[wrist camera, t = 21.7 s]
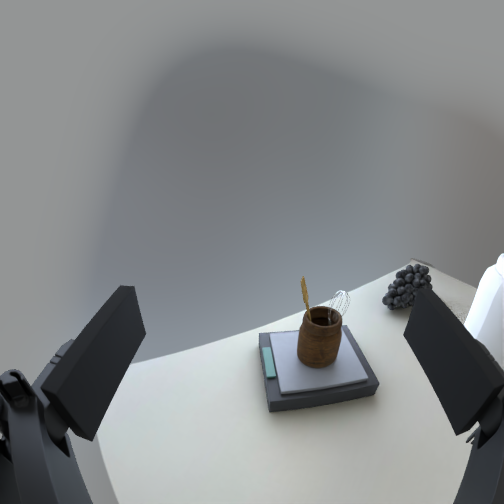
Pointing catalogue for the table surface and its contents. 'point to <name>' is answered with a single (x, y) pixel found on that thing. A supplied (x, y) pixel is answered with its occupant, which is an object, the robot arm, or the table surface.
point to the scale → (312, 373)
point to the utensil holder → (319, 333)
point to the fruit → (407, 286)
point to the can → (489, 312)
